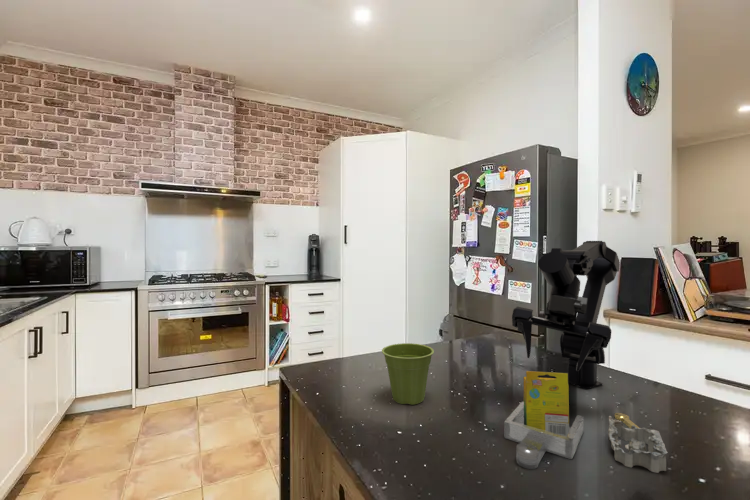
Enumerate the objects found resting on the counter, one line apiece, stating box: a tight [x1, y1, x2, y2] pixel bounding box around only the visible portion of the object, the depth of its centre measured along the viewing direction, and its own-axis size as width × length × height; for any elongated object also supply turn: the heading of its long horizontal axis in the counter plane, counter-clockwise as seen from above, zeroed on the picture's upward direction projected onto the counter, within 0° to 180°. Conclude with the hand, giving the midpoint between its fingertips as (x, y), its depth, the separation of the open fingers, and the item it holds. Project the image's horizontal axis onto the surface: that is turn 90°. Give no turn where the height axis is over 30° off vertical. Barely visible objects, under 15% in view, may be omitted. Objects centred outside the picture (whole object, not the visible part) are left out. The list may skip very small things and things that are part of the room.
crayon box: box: [523, 370, 570, 437], centre depth 68 cm, size 7×3×12 cm, turn 78°
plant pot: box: [381, 342, 435, 406], centre depth 84 cm, size 12×12×11 cm
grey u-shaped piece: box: [503, 400, 584, 470], centre depth 65 cm, size 18×11×3 cm, turn 142°
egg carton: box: [607, 415, 669, 474], centre depth 62 cm, size 11×8×4 cm
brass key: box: [614, 412, 641, 429], centre depth 72 cm, size 7×2×1 cm, turn 174°
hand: (552, 363), depth 76 cm, fingers open, 9 cm apart
